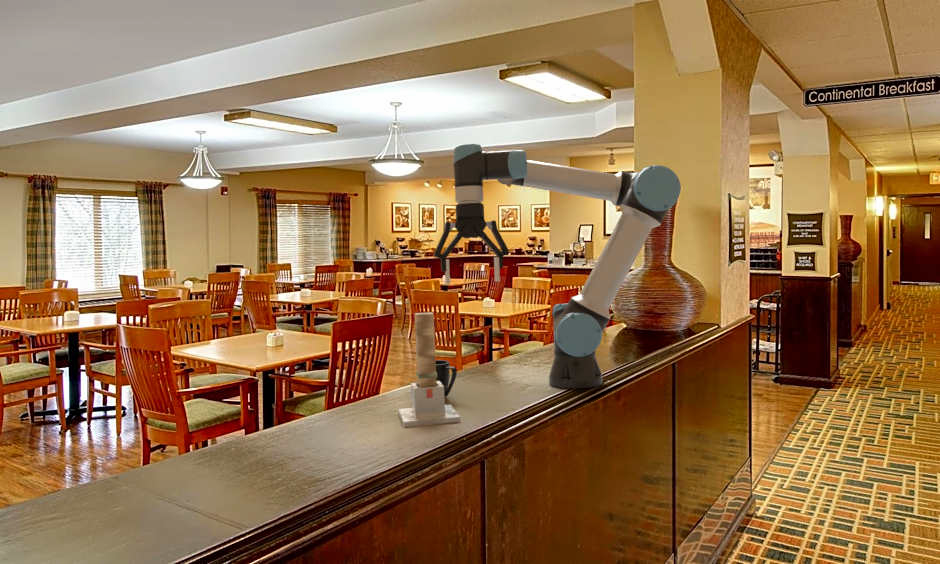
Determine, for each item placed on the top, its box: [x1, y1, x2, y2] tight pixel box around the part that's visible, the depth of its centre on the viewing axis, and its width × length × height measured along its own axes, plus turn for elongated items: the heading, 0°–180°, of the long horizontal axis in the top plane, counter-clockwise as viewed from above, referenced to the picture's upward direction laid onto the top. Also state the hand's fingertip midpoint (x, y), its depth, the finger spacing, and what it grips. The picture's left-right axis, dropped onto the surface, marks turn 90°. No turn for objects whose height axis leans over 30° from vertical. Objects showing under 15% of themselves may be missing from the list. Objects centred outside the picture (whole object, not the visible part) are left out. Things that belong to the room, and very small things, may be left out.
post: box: [414, 312, 437, 387], centre depth 160 cm, size 4×4×19 cm
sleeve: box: [398, 381, 461, 428], centre depth 161 cm, size 13×13×8 cm
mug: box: [436, 359, 458, 398], centre depth 181 cm, size 8×12×10 cm
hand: (472, 282), depth 181 cm, fingers open, 13 cm apart
